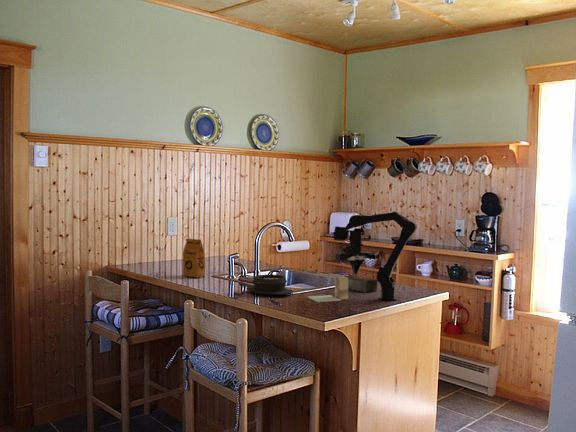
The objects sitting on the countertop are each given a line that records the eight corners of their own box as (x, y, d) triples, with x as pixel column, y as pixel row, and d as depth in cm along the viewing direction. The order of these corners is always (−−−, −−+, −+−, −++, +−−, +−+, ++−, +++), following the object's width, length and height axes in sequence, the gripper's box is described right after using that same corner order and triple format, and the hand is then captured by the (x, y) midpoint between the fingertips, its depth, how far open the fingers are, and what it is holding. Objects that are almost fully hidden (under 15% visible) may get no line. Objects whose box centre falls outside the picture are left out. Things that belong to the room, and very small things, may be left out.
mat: (341, 300, 255) (341, 299, 255) (317, 302, 251) (317, 301, 251) (330, 295, 266) (330, 295, 266) (307, 297, 262) (307, 296, 262)
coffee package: (195, 279, 310) (195, 240, 309) (180, 277, 317) (180, 238, 316) (208, 277, 318) (208, 238, 317) (193, 274, 325) (193, 237, 324)
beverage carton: (351, 286, 295) (351, 274, 295) (377, 292, 280) (378, 279, 280) (340, 287, 290) (340, 275, 290) (366, 293, 275) (367, 280, 275)
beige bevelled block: (348, 299, 260) (348, 277, 259) (340, 299, 258) (340, 278, 258) (342, 296, 265) (342, 275, 265) (334, 297, 264) (335, 276, 263)
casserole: (237, 293, 271) (237, 276, 270) (262, 288, 285) (262, 272, 285) (277, 300, 255) (277, 282, 255) (301, 294, 270) (301, 277, 270)
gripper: (364, 239, 274) (364, 270, 275) (330, 240, 267) (330, 272, 268) (376, 241, 263) (375, 274, 264) (340, 242, 257) (340, 276, 258)
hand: (355, 274), depth 264 cm, fingers closed
